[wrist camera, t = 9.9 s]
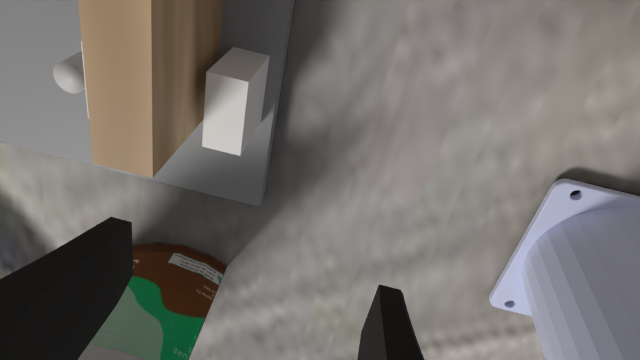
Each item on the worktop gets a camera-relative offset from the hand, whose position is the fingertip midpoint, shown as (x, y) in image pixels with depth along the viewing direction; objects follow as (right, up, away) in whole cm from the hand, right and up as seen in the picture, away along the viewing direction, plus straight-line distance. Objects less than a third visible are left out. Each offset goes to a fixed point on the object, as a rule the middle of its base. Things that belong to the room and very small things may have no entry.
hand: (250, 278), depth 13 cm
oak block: (-3, +10, +4) cm, 11 cm away
